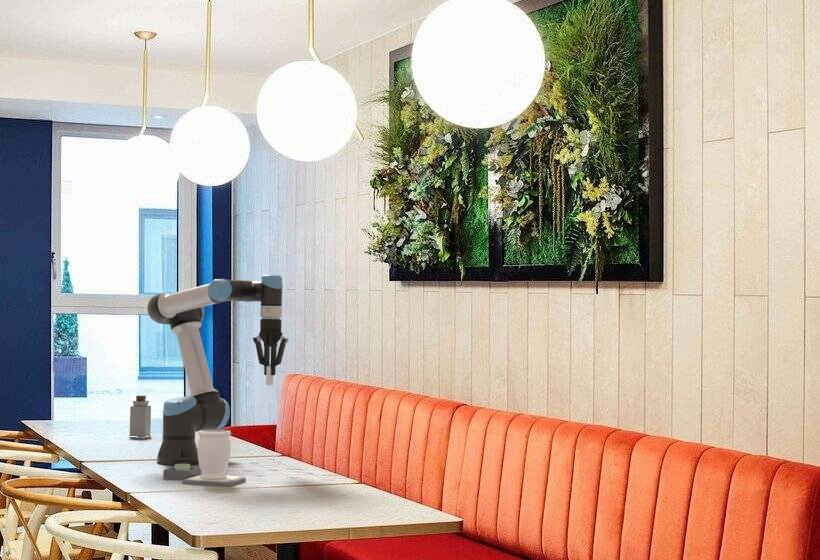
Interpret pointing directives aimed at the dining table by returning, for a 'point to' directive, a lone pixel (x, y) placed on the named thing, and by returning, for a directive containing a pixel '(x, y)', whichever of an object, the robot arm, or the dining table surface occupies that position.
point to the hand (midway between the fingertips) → (269, 384)
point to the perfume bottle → (140, 417)
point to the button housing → (180, 473)
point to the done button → (182, 467)
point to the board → (215, 481)
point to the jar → (214, 453)
